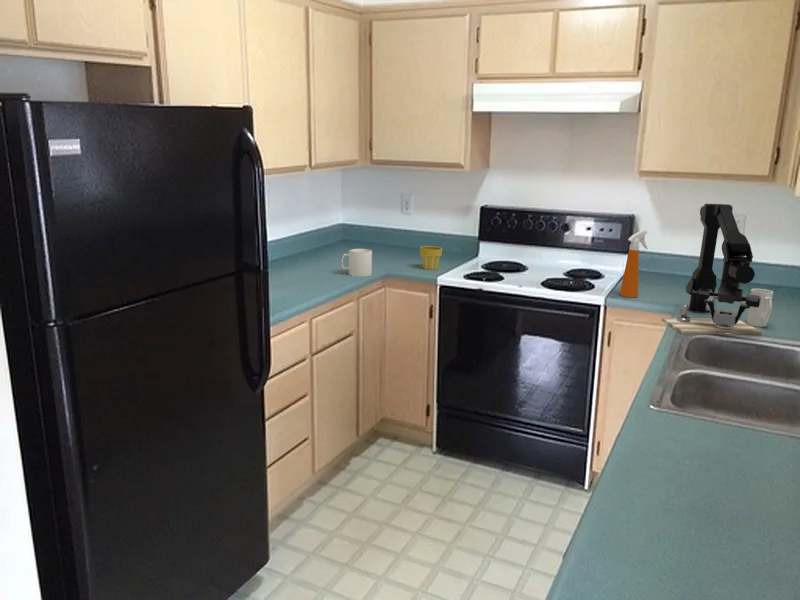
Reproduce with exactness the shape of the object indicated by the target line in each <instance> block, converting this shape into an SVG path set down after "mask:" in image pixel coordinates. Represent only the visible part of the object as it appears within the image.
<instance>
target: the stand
mask: <svg viewBox="0 0 800 600" xmlns="http://www.w3.org/2000/svg"><path fill="white" fill-rule="evenodd" d="M688 307H689V304H682V306H681V311H680V312H681V313H680V315H678V316H677V317H676V318H677V321H680V322H690V320H691V318H692V317H688V313H689V309H688Z"/></svg>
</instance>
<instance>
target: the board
mask: <svg viewBox="0 0 800 600" xmlns="http://www.w3.org/2000/svg"><path fill="white" fill-rule="evenodd" d="M690 318H691V320H690V322H680V321H677V317H661V322H663V323H664V324H666V325H668V326H669V327H671V328H672V329H673V330H675V331H677V332H678V333H680V334H683V335H685V334H688V335H690V334H691V335H696V334H697V335H698V334H699V335H717V334H716V333H723V334H722V335H726V334H725V333H733V334H732V335H762V330H760V329H758V328H757V327H755V326H752V325H749V324H747V322H744V321H742V320H740V319H739V320H738V322H737V324H735V325H734V326H733V328H732V329H731V330H724V329H719V328H716V327H715V324H716V323H713V320H712V317H710V318H705V317H704V318H703V317H702V318H697V317H696V318H692V317H690Z"/></svg>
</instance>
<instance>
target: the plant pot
mask: <svg viewBox="0 0 800 600" xmlns="http://www.w3.org/2000/svg"><path fill="white" fill-rule="evenodd" d="M419 248H420V249H419V254H420V256H421V262H422V268H423V269H425V270H437V269H438V268H439V267H438V266H439V262H440V259H441V256H443V248H442V247H440V246H435V245H434V246H433V245H423V246H420V247H419Z"/></svg>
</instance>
